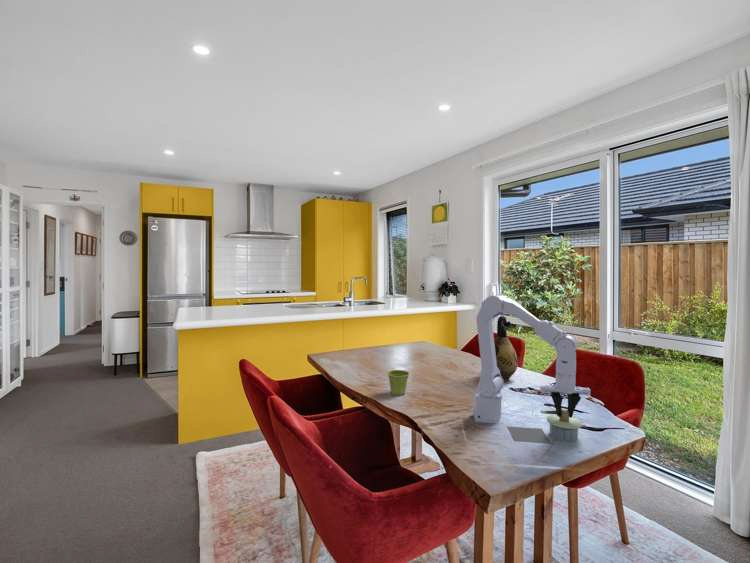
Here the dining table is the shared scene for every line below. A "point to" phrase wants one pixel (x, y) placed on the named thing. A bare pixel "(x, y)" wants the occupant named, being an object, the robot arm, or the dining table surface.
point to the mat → (528, 434)
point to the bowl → (563, 433)
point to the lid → (564, 420)
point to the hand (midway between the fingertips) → (564, 416)
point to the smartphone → (553, 411)
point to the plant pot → (398, 381)
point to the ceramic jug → (505, 350)
